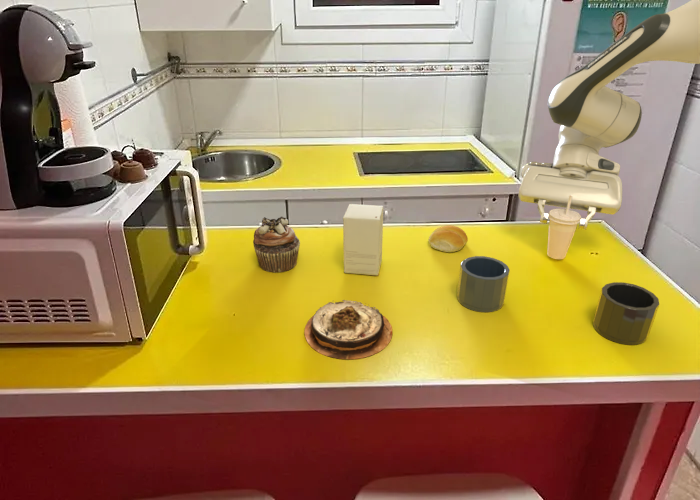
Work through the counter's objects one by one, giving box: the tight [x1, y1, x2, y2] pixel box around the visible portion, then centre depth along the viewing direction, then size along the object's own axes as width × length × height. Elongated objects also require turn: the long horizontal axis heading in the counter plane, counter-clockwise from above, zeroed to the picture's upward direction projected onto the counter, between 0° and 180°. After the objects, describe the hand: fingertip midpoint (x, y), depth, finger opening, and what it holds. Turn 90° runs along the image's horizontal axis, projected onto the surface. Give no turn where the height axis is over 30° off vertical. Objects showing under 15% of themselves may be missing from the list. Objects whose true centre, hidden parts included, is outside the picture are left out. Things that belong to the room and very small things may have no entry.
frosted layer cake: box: [304, 299, 393, 360], centre depth 88 cm, size 15×15×4 cm
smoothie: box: [546, 195, 582, 260], centre depth 109 cm, size 6×6×14 cm
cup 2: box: [592, 281, 660, 346], centre depth 88 cm, size 9×9×7 cm
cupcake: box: [252, 216, 301, 274], centre depth 108 cm, size 10×10×10 cm
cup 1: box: [456, 255, 511, 313], centre depth 96 cm, size 9×9×7 cm
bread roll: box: [428, 224, 469, 253], centre depth 117 cm, size 8×9×4 cm
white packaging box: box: [342, 203, 384, 276], centre depth 106 cm, size 7×7×13 cm
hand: (562, 225), depth 108 cm, fingers closed on smoothie, 6 cm apart
